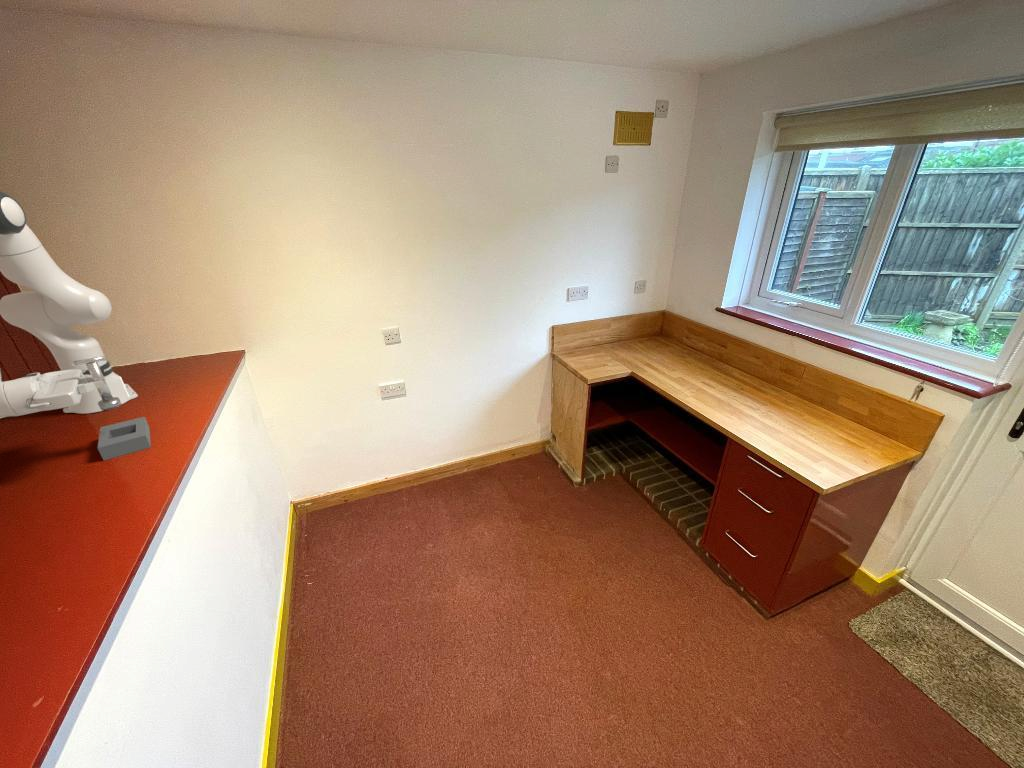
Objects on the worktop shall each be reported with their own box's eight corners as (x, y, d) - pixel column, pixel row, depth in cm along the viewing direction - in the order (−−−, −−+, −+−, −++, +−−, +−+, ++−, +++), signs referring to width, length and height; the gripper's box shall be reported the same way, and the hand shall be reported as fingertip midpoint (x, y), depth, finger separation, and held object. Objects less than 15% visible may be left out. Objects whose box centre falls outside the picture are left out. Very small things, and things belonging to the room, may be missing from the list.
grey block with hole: (105, 439, 122) (100, 427, 120) (149, 427, 127) (144, 416, 126) (103, 460, 112) (97, 448, 110) (150, 447, 118) (145, 435, 116)
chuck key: (93, 407, 114) (71, 359, 108) (125, 400, 118) (105, 353, 112) (92, 413, 111) (69, 364, 105) (125, 406, 115) (104, 358, 109)
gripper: (16, 398, 95) (97, 382, 103) (31, 371, 110) (101, 359, 118) (29, 422, 98) (107, 404, 106) (42, 393, 112) (110, 379, 120)
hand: (104, 380), depth 112 cm, fingers closed on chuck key, 2 cm apart
